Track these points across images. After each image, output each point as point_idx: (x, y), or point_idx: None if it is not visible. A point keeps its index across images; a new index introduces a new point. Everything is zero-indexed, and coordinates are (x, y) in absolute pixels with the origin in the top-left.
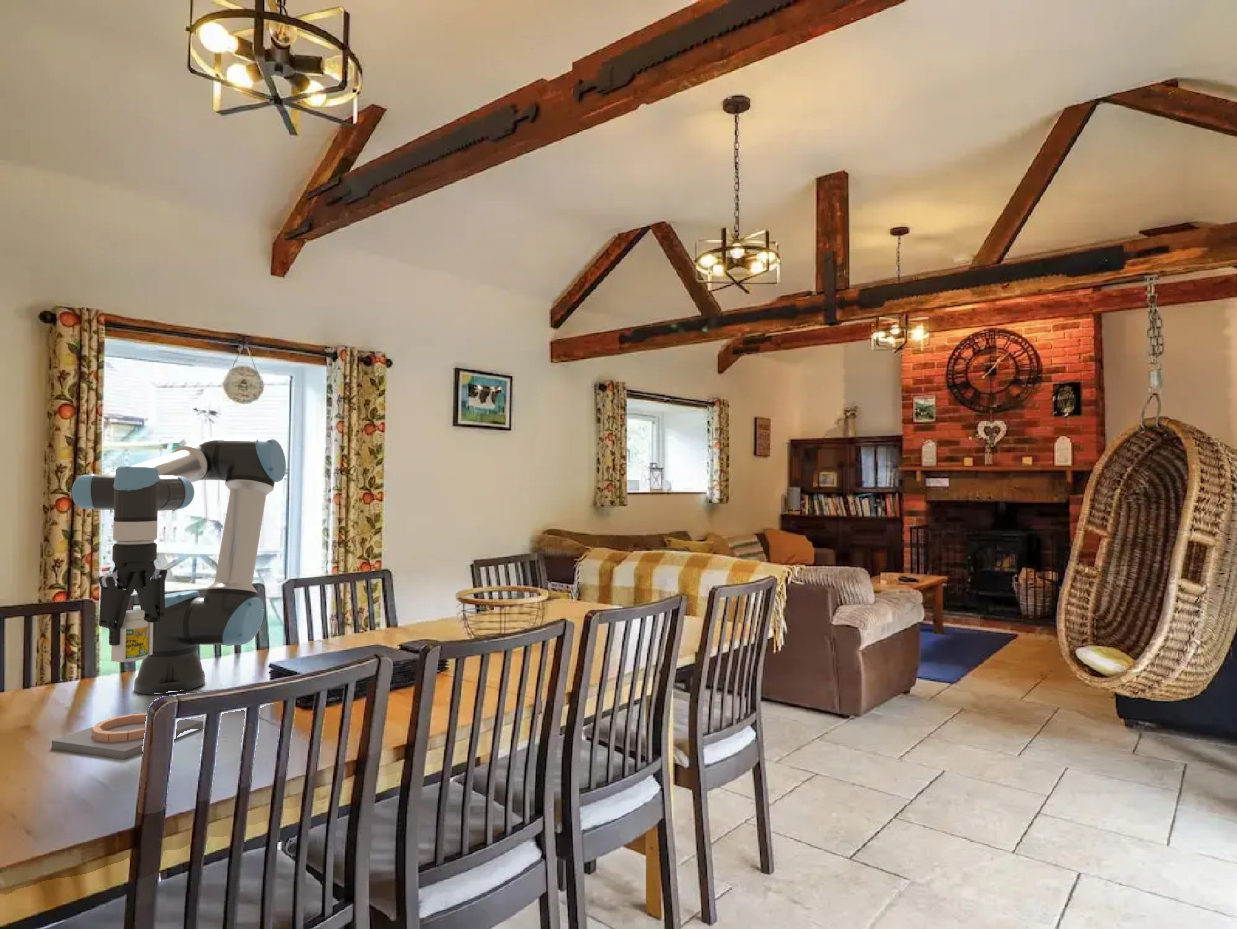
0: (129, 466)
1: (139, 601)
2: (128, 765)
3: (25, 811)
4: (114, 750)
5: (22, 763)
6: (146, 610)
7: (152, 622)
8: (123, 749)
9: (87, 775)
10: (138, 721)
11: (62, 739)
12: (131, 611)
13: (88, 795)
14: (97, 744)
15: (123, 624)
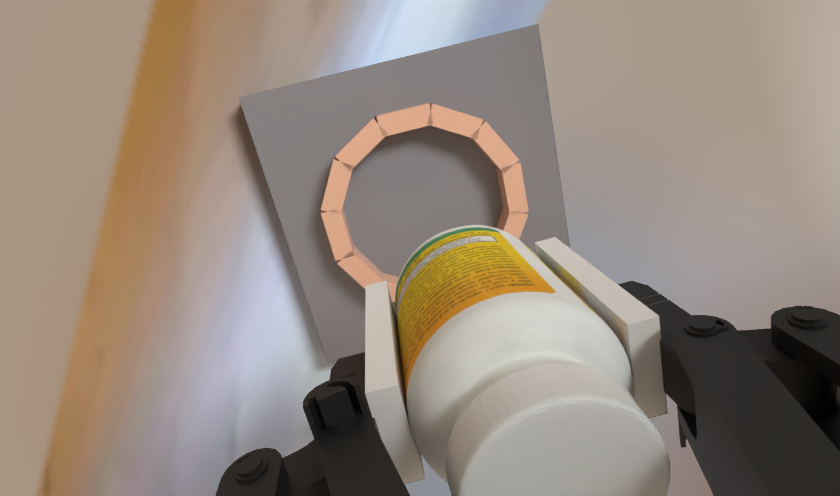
0: None
1: (757, 476)
2: None
3: (69, 476)
4: (317, 330)
5: (146, 162)
6: (710, 451)
7: (665, 408)
8: (332, 347)
9: (228, 383)
10: (480, 149)
11: (264, 116)
12: (560, 481)
13: (186, 488)
14: (309, 252)
15: (432, 453)
